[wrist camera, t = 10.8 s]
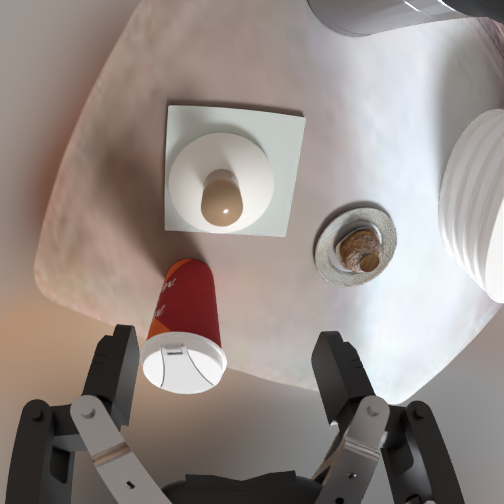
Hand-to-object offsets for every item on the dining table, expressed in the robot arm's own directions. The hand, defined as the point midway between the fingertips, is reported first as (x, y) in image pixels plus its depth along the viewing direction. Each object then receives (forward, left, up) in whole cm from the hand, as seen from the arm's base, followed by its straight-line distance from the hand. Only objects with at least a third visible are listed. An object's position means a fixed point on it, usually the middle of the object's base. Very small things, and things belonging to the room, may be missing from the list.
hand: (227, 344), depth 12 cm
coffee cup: (+13, -3, -23) cm, 27 cm away
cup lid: (0, 0, -22) cm, 22 cm away
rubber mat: (-1, +1, -23) cm, 23 cm away
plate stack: (-5, +43, -23) cm, 49 cm away
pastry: (+7, +18, -23) cm, 31 cm away
